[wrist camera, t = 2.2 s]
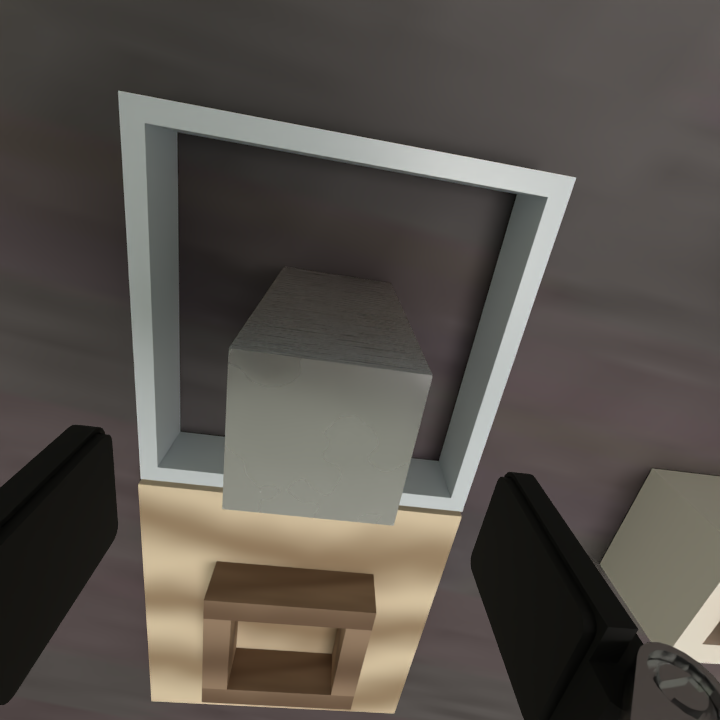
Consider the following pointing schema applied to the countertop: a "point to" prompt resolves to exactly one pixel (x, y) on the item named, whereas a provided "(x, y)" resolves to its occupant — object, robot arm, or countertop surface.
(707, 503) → the button post
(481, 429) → the tote tray
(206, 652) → the plate
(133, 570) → the countertop surface
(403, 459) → the block
